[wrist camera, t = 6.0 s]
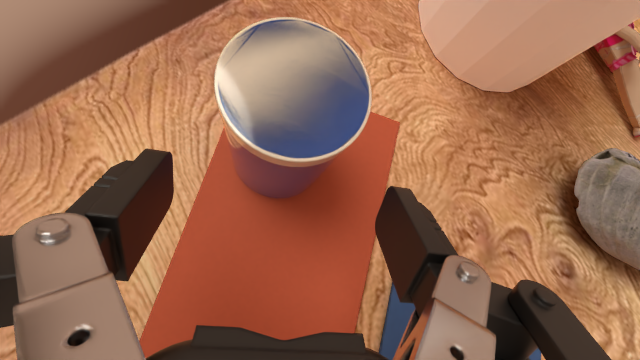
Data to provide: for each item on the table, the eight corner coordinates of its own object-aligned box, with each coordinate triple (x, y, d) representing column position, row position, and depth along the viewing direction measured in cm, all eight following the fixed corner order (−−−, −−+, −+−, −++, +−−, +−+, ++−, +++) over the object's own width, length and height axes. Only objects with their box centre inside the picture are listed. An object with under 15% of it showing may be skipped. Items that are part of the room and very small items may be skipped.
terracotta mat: (135, 353, 16) (133, 354, 16) (248, 68, 22) (248, 66, 21) (338, 397, 18) (339, 399, 18) (398, 123, 23) (400, 122, 23)
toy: (610, 137, 32) (543, 15, 32) (676, 110, 30) (603, -19, 31) (664, 136, 25) (577, -20, 25) (755, 100, 23) (659, -68, 24)
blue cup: (217, 182, 19) (187, 129, 11) (249, 98, 21) (246, -7, 12) (310, 211, 20) (352, 183, 11) (333, 128, 22) (386, 50, 13)
